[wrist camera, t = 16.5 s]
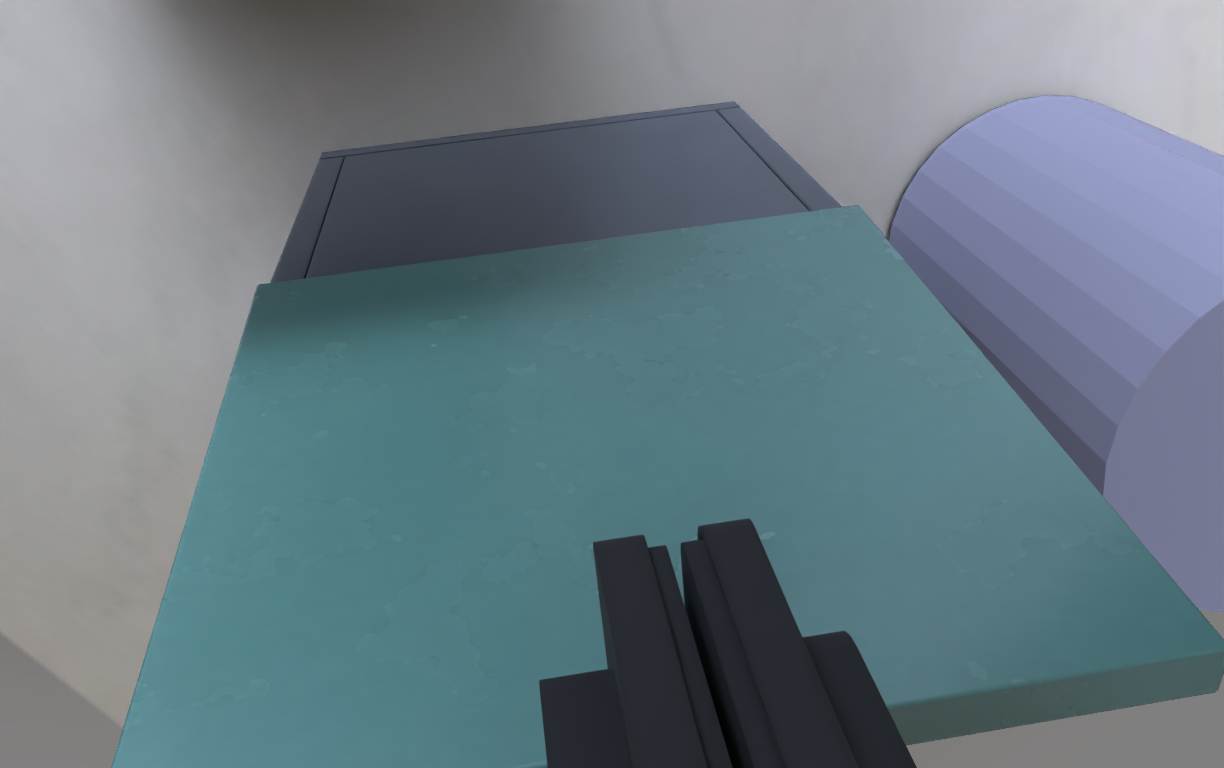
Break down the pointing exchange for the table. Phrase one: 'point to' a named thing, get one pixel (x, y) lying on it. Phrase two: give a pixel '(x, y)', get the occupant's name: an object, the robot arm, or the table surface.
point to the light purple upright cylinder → (1094, 302)
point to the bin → (541, 189)
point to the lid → (628, 501)
